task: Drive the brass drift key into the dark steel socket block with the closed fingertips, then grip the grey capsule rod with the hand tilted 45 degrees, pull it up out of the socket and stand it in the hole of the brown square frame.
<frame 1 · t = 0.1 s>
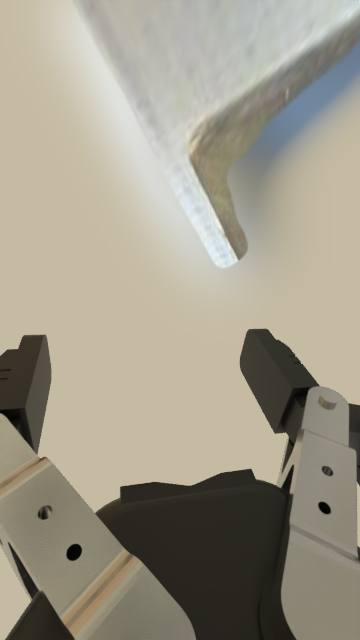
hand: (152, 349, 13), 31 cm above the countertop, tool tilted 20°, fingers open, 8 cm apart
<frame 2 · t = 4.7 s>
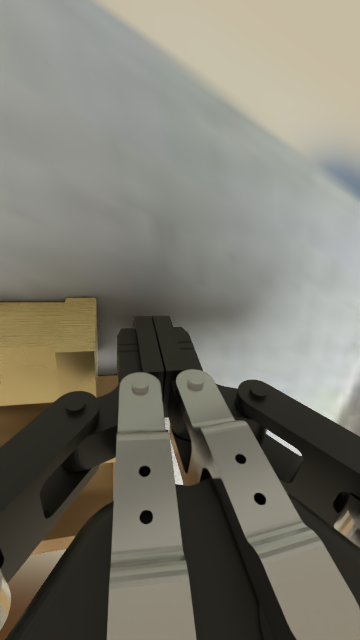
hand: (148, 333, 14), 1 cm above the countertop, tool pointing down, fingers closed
brown square frame: (58, 433, 17), on the countertop
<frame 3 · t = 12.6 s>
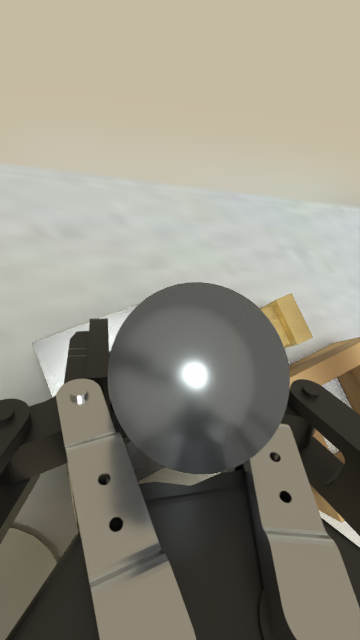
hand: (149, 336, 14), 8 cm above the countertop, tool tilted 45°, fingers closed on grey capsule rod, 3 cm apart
grey capsule rod: (152, 383, 13), in the socket block, touching gripper
brown square frame: (318, 415, 23), on the countertop
socket block: (137, 386, 20), on the countertop
drift key: (243, 340, 20), point 2 cm above the countertop, slide at 2.9 cm
when the fingers open (9 cm above the countertop, at t = 17.5 s): grey capsule rod drops 1 cm, resting in brown square frame.
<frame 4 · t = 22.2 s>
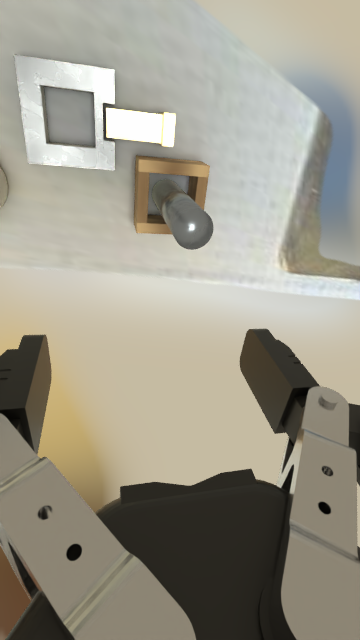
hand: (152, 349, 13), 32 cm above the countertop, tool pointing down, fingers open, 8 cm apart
grey capsule rod: (177, 208, 34), in the brown square frame
brown square frame: (166, 193, 41), on the countertop
socket block: (71, 118, 34), on the countertop
drift key: (139, 126, 34), point 2 cm above the countertop, slide at 2.9 cm
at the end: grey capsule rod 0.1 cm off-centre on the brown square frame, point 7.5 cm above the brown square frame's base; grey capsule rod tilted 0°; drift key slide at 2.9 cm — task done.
